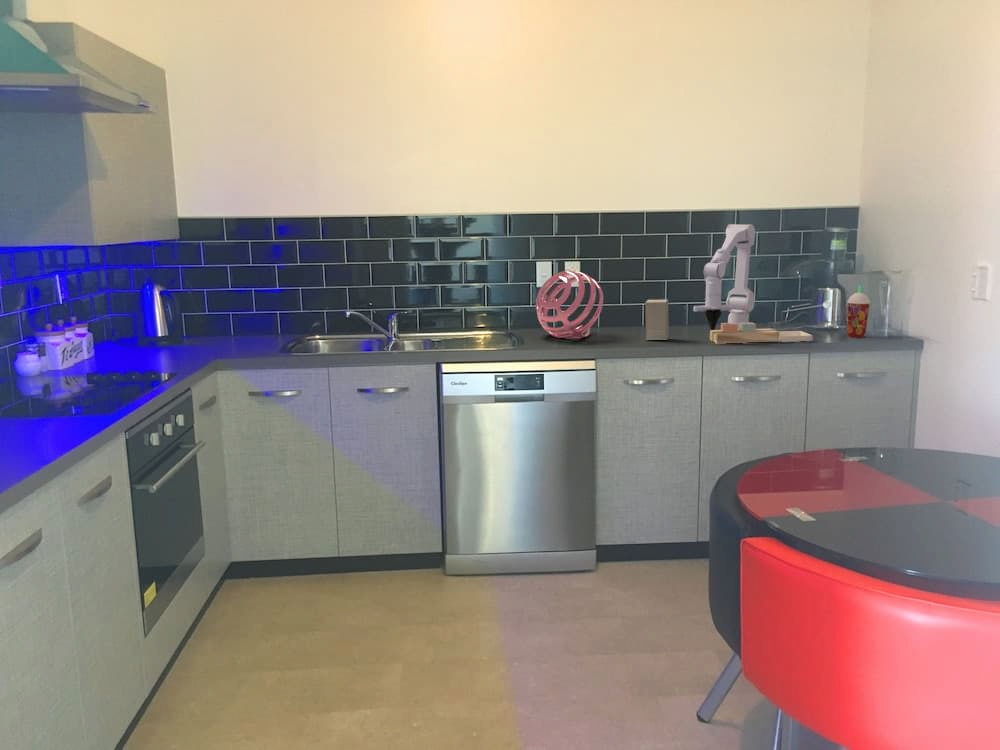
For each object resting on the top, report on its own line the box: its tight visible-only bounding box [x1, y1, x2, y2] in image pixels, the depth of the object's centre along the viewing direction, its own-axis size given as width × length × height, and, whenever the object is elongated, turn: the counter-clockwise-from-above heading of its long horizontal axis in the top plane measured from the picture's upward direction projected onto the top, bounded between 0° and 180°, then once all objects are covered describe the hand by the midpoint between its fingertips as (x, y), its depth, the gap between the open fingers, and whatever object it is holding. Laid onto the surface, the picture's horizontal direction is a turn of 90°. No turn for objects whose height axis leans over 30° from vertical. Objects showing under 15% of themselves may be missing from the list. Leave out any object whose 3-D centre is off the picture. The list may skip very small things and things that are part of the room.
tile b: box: [738, 321, 757, 332], centre depth 322 cm, size 5×5×3 cm
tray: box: [779, 330, 814, 343], centre depth 324 cm, size 11×12×2 cm
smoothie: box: [846, 285, 871, 339], centre depth 327 cm, size 8×8×20 cm
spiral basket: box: [535, 270, 604, 340], centre depth 338 cm, size 28×28×27 cm
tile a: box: [720, 322, 738, 333], centre depth 322 cm, size 5×5×3 cm
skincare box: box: [644, 299, 670, 341], centre depth 328 cm, size 8×7×16 cm
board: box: [709, 328, 781, 345], centre depth 323 cm, size 9×24×4 cm, turn 93°
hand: (712, 329), depth 322 cm, fingers closed
